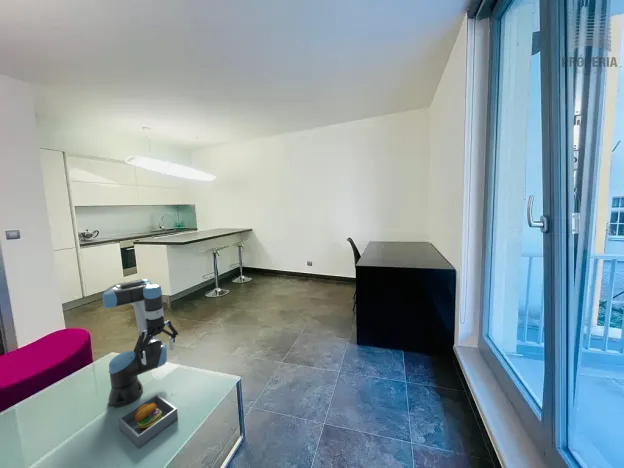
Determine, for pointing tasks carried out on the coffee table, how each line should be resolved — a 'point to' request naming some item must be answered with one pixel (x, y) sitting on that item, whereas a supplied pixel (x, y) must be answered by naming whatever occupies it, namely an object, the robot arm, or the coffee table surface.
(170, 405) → the bin
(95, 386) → the coffee table surface
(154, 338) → the robot arm
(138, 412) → the cheeseburger
